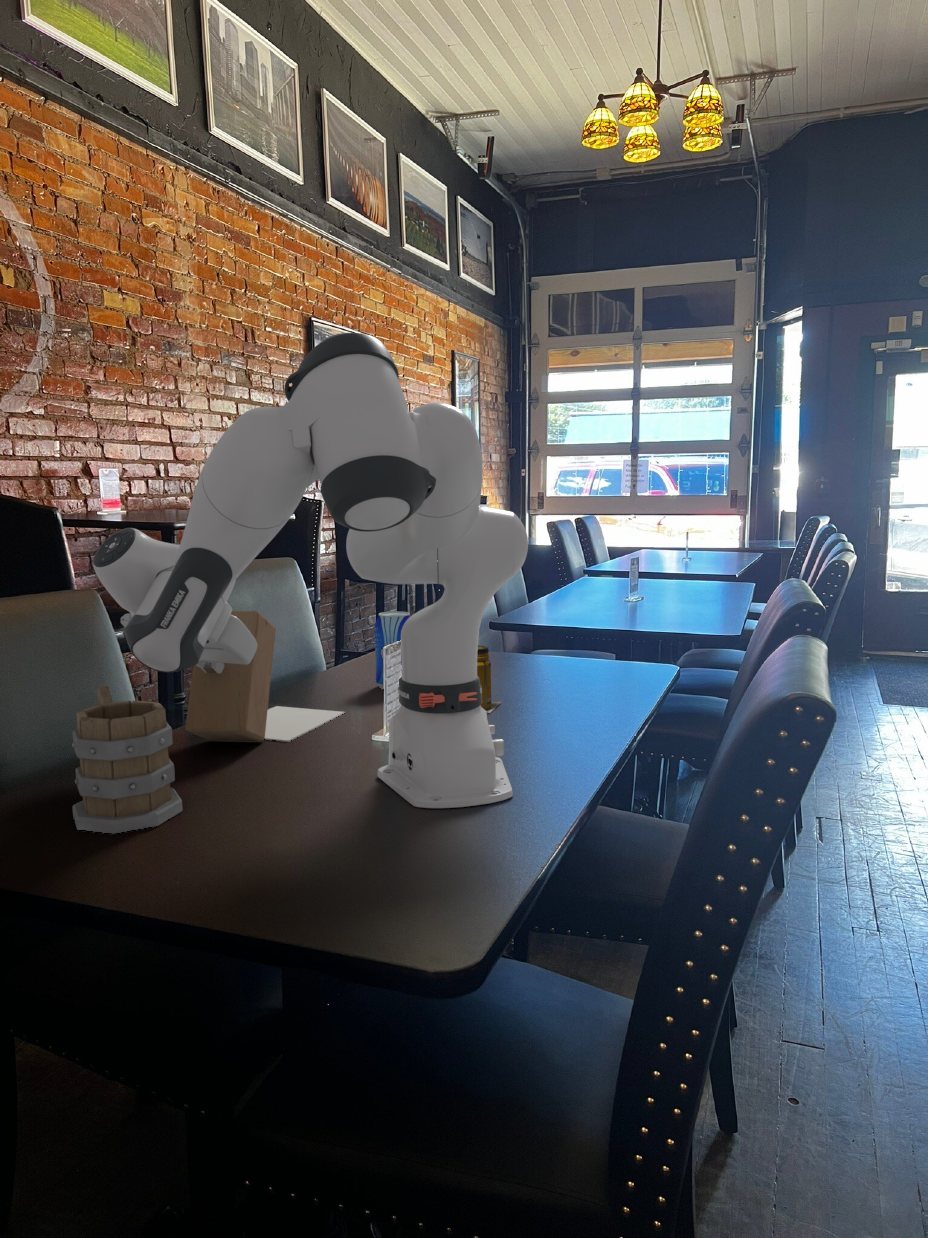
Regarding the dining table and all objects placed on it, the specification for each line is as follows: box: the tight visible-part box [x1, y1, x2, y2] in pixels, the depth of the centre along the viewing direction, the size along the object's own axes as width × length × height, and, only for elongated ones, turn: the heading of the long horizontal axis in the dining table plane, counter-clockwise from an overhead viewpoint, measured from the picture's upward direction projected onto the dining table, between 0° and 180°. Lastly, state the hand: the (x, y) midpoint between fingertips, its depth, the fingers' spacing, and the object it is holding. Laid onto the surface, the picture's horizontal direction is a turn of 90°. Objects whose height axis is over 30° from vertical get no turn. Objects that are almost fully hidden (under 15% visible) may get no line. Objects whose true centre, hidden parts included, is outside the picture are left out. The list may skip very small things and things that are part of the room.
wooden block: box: [184, 610, 276, 742], centre depth 142 cm, size 10×10×20 cm
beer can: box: [374, 610, 411, 691], centre depth 182 cm, size 8×8×16 cm
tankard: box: [71, 685, 184, 835], centre depth 113 cm, size 20×13×15 cm, turn 30°
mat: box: [264, 705, 346, 743], centre depth 154 cm, size 20×15×1 cm
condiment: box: [477, 644, 502, 714], centre depth 164 cm, size 7×8×12 cm
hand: (215, 669), depth 136 cm, fingers closed
